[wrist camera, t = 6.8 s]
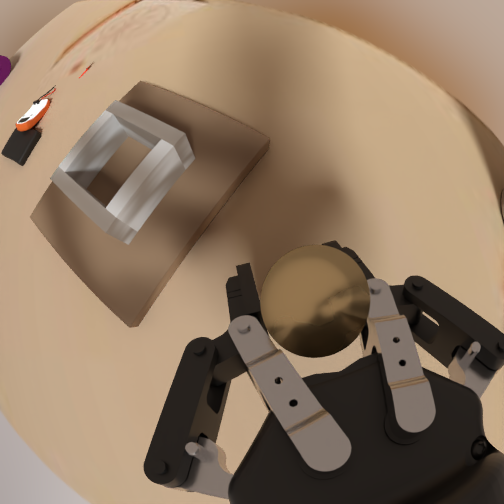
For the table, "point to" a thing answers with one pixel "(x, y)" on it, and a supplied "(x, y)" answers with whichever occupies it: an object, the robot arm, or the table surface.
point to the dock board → (143, 193)
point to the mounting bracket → (4, 68)
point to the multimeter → (27, 132)
